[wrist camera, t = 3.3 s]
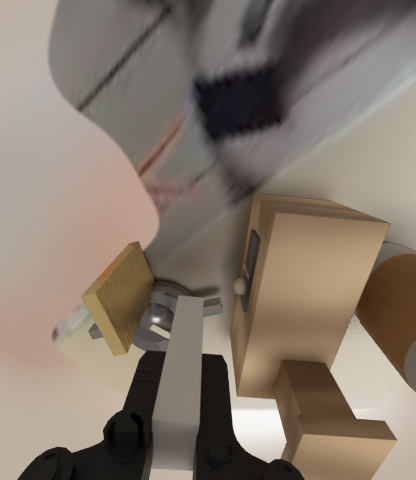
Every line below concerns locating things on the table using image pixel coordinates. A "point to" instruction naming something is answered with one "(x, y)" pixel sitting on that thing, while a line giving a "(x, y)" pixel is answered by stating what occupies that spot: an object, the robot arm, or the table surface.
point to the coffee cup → (392, 308)
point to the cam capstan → (135, 304)
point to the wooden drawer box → (306, 329)
